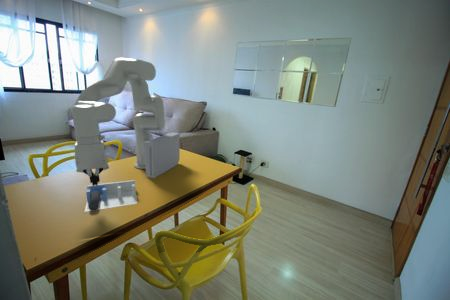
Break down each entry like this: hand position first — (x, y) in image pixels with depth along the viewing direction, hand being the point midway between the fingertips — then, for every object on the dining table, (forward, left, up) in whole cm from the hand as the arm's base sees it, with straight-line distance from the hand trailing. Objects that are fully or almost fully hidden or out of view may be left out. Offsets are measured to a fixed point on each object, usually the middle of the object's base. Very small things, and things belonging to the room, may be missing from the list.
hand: (95, 183), depth 85 cm
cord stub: (-2, 0, -9) cm, 10 cm away
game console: (-32, +31, -11) cm, 46 cm away
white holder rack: (-5, +5, -10) cm, 13 cm away
